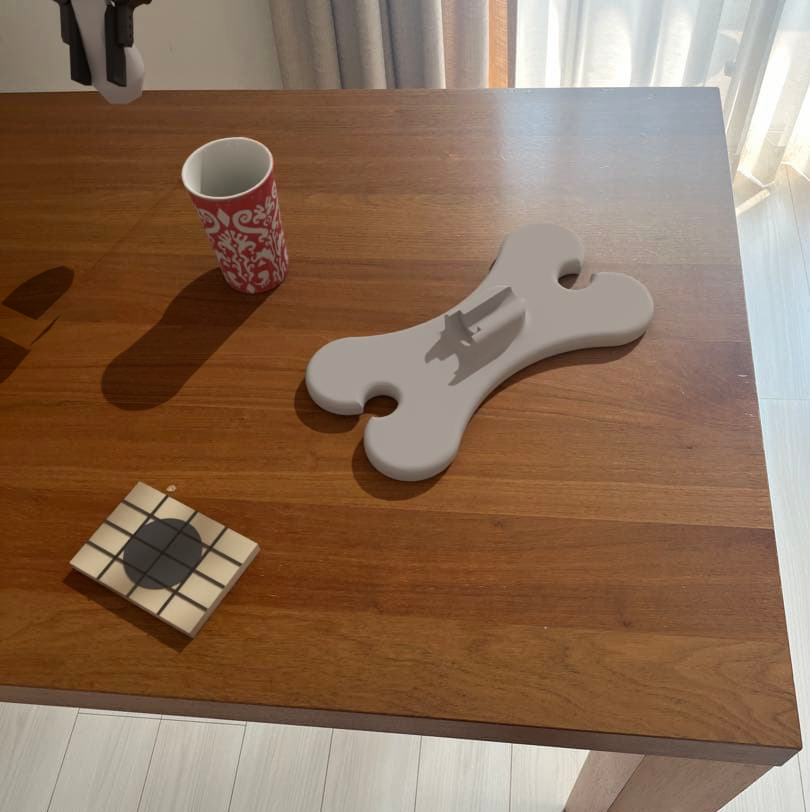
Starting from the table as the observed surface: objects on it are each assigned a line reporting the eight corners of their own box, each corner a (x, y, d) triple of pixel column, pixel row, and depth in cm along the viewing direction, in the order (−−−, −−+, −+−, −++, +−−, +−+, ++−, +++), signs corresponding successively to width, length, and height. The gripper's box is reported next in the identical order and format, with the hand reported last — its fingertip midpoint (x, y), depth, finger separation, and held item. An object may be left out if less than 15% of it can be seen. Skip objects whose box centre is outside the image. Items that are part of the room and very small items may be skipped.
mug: (292, 301, 95) (265, 197, 83) (210, 301, 96) (172, 198, 84) (307, 219, 101) (284, 112, 89) (230, 220, 102) (198, 114, 90)
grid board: (74, 568, 81) (68, 562, 79) (143, 487, 84) (139, 480, 83) (193, 639, 76) (188, 632, 75) (260, 550, 80) (257, 543, 79)
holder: (670, 318, 90) (680, 282, 85) (402, 501, 81) (398, 470, 77) (545, 221, 98) (548, 183, 94) (290, 378, 90) (280, 344, 85)
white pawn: (141, 111, 90) (92, -22, 79) (88, 109, 91) (33, -23, 79) (158, 76, 93) (114, -58, 81) (107, 74, 93) (56, -59, 82)
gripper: (-18, -224, 78) (0, 72, 84) (155, -228, 75) (160, 76, 82) (30, -180, 85) (44, 89, 91) (189, -183, 83) (192, 93, 89)
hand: (99, 82), depth 87 cm, fingers closed on white pawn, 3 cm apart
